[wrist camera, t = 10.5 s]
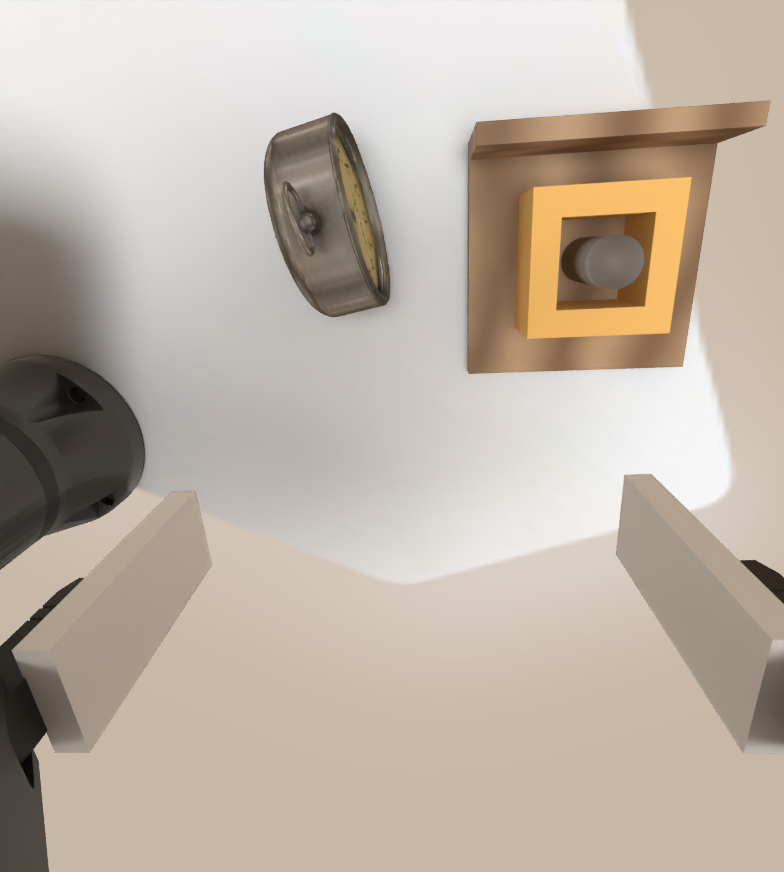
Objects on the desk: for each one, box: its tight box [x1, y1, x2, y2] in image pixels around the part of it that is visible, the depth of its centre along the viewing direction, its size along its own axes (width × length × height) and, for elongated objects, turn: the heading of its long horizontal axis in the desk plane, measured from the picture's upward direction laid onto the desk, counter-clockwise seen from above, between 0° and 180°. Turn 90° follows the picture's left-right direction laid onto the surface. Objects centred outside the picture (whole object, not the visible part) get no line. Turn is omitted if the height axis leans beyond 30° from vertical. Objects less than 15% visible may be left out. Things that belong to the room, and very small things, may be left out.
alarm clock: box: [264, 113, 390, 317], centre depth 29 cm, size 11×5×16 cm, turn 14°
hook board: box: [468, 101, 770, 374], centre depth 33 cm, size 16×16×8 cm
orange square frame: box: [515, 177, 692, 339], centre depth 33 cm, size 9×9×5 cm
